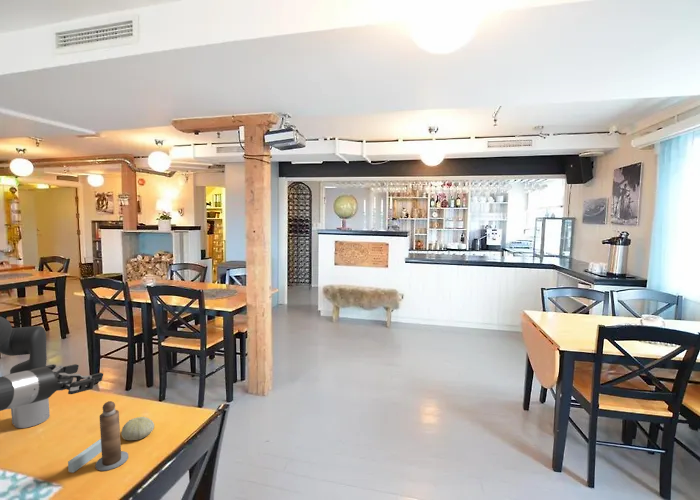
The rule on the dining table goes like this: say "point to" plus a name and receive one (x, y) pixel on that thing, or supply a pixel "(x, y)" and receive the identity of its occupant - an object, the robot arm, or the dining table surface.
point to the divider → (84, 456)
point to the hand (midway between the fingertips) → (89, 372)
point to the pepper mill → (110, 434)
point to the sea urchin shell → (137, 428)
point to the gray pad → (104, 468)
